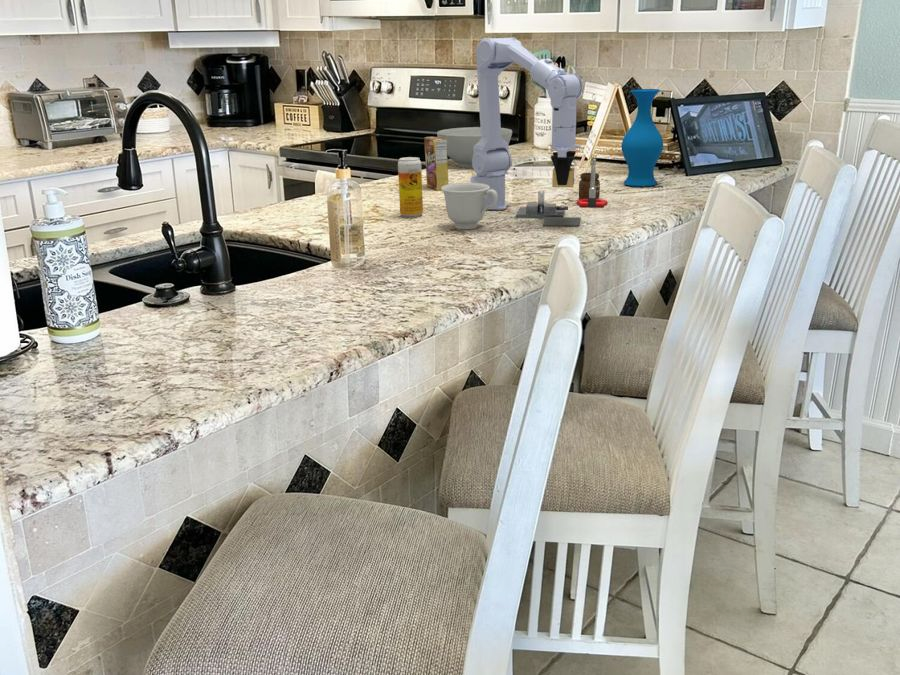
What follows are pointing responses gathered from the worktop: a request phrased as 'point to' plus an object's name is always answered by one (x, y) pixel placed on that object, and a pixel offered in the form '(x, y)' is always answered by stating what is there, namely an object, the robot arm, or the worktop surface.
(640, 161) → the vase
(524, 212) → the vise
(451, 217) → the teacup
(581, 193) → the utensil holder
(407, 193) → the beer can
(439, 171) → the candy box
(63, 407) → the worktop surface
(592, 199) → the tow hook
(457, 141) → the decorative bowl
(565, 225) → the mat
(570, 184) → the tan slotted block
